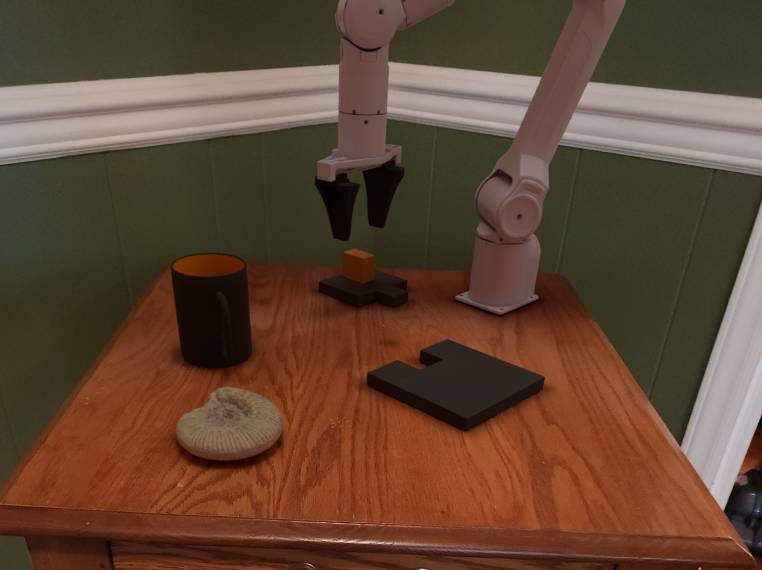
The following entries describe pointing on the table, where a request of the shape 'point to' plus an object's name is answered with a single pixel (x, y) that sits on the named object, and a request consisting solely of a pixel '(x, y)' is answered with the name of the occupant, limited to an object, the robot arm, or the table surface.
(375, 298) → the black pad
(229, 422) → the fossil
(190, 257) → the mug
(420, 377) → the charcoal mat
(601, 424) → the table surface
